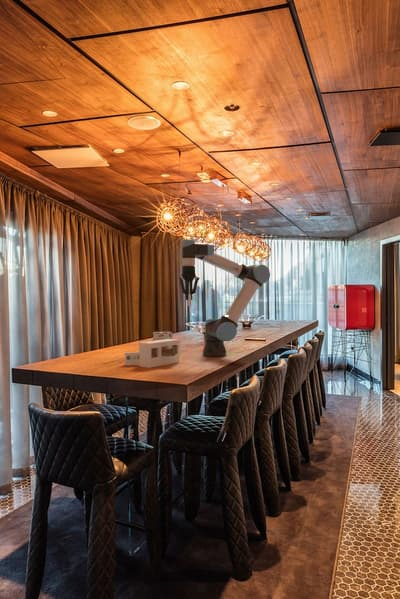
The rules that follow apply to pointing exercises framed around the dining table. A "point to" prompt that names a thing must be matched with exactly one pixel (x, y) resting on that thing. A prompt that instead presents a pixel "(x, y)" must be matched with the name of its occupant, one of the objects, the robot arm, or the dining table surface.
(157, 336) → the candy bar box
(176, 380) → the dining table surface
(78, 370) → the dining table surface
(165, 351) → the plunger middle
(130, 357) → the card
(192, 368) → the dining table surface
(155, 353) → the plunger
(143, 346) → the console
